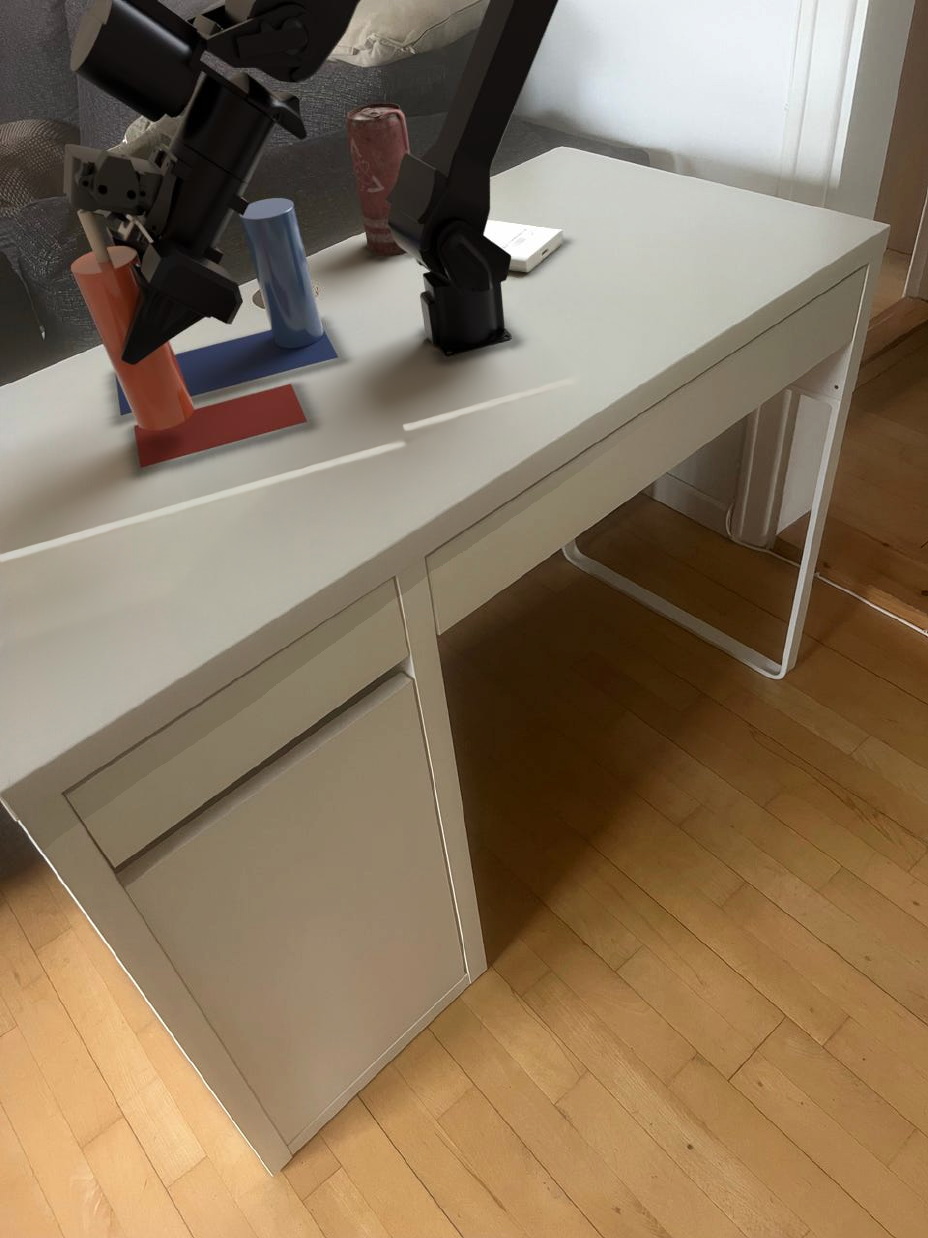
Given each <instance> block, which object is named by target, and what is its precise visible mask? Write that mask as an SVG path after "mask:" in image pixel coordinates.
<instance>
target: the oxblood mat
mask: <svg viewBox="0 0 928 1238" xmlns="http://www.w3.org/2000/svg"><path fill="white" fill-rule="evenodd" d="M307 422H308V421H307V418H306V415H305V413H304V411H303V408H302V406H301V403H300V401H299V399H298V397H297V395H296V392H295V389H294V387H293V385H292V383H287V384H284V385H281V386H276V387H273V388H269V389H266V390H262V391H258V392H254V393H251V394H247V395H244V396H240V397H236V398H231V399H229V400H225V401H224V400H223V401H221V402H217V403H214V404H210V405H206V406H202V407H199V408H194V411H193V413H192V415H191V416H190V417H189V418H188V419H187V420H185V421H184V422H182V423H181V424H179V425H177V426H174V427H171V428H168V429H164V430H145V429H142V428H141V427H139V426H138V424H135V425H134V427H133V428H134V434H135V440H136V448H137V453H138V460H139V467H140V468H145V467H148V466H152V465H156V464H159V463H163V462H167V461H171V460H175V459H177V458H180V457H185V456H189V455H191V454H196V453H199V452H202V451H206V450H209V449H214V448H217V447H221V446H224V445H228V444H231V443H235V442H238V441H239V442H240V441H242V440H246V439H249V438H252V437H257V436H261V435H263V434H267V433H270V432H275V431H278V430H282V429H286V428H288V427H292V426H297V425H300V424H303V423H307Z"/></svg>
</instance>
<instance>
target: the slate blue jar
mask: <svg viewBox="0 0 928 1238" xmlns="http://www.w3.org/2000/svg"><path fill="white" fill-rule="evenodd" d="M238 214H239V213H238ZM238 216H239V218H240V219H239V220H240V222H241V226H242V229H243V233H244V237H245V241H246V244H247V247H248V251H249V256H250V258H251V262H252V266H253V270H254V273H255V277H256V280H257V284H258V288H259V291H260V294H261V295H260V296H261V298H262V302H263V306H264V309H265V313H266V316H267V317H266V318H267V320H268V323H269V324H268V325H269V327H270V330H271V331H272V335H273V338H274V342H275V344H276V345H278V346H280V347H282V348H300V347H305V346H308V345H310V344H313V343H315V342H316V341H318V340H319V339H320V338H321V337H322V335H323V329H324V327H323V323H322V319H321V314H320V311H319V305H318V302H317V297H316V293H315V289H314V284H313V280H312V276H311V271H310V267H309V264H308V258H307V255H306V251H305V250H306V249H305V246H304V241H303V237H302V233H301V229H300V225H299V221H298V216H297V212H296V207H295V203H294V202H293V200H290V199H288V198H284V197H273V198H265V199H260V200H257V201H254V202H251V203H249V205H248V207H247V209H246V211H245V213H244V215H243V216H242V215H241V214H239V215H238Z"/></svg>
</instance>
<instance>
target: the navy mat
mask: <svg viewBox="0 0 928 1238" xmlns="http://www.w3.org/2000/svg"><path fill="white" fill-rule="evenodd" d="M175 356H176V359H177V362H178V364H179V367H180V370H181V372H182V375H183V378H184V380H185V383H186V386H187V389H188V391H189V394H190V397H191V398H192V397H195V396H199V395H203V394H206V393H210V392H213V391H217V390H221V389H225V388H229V387H232V386H236V385H240V384H243V383H248V382H251V381H255V380H258V379H263V378H266V377H270V376H273V375H278V374H281V373H285V372H289V371H293V370H297V369H299V368H300V369H301V368H304V367H307V366H312V365H313V364H318V363H323V362H326V361H329V360H333V359H338V358H339V355H338V353H337V351H336V349H335V348H334V347H333V344H332V343H331V341H330V339H329V337H328V335H327V333H326V331H325V330H324V328H323V335H322V337H321V338H320V339H319V340H318V341H316V342H315V343H313V344H310V345H308V346H305V347H300V348H282V347H280V346H278V345H276V344H275V342H274V338H273V335H272V331H271V329H269V330H265V331H261V332H257V333H254V334H249V335H245V336H242V337H237V338H234V339H230V340H226V341H223V342H218V343H215V344H211V345H207V346H203V347H200V348H195V349H191V350H188V351H184V352H180V353H175ZM115 378H116V380H115V381H116V389H117V395H118V403H119V404H118V405H119V411H120V416H124V415H127V414H133V413H132V411H131V408H130V406H129V404H128V401H127V399H126V397H125V394H124V392H123V390H122V387H121V385H120V383H119V380H118V378H117V376H116V375H115Z"/></svg>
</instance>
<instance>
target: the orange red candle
mask: <svg viewBox="0 0 928 1238" xmlns="http://www.w3.org/2000/svg"><path fill="white" fill-rule="evenodd" d="M77 216H78V217H79V221H80V223H81V225H82V228H83V230H84V233H85V235H86V238H87V240H88V243H89V245H90V247H91V250H92V251H89V252H87V253H85V254H83V255H82V256H80V257H79V258H77V259H75V260H74V261H73V262H72V263H71V266H70V270H71V273H72V275H73V277H74V279H75V282H76V284H77V286H78V288H79V291H80V294H81V296H82V298H83V301H84V303H85V305H86V308H87V310H88V313H89V315H90V317H91V319H92V323H93V324H94V326H95V328H96V331H97V333H98V336H99V338H100V341H101V343H102V345H103V347H104V350H105V352H106V354H107V357H108V359H109V362H110V364H111V366H112V368H113V371H114V373H115V377H116V376H117V378H118V380H119V383H120V385H121V387H122V390H123V392H124V394H125V397H126V399H127V401H128V404H129V406H130V408H131V411H132V413H131V414H132V415H133V417H134V420H135V422H136V425H138V426H139V427H141V428H142V429H145V430H164V429H168V428H171V427H174V426H177V425H179V424H181V423H182V422H184V421H185V420H187V419H188V418H189V417H190V416H191V415H192V413H193V411H194V410H195V404H194V402H193V399H192V396H191V397H190V394H189V391H188V389H187V386H186V383H185V380H184V378H183V375H182V372H181V370H180V367H179V364H178V362H177V359H176V356H175V355H176V353H175V351H174V348H173V346H172V343H171V340H169V341H168V342H166V343H165V344H164V345H162V346H161V347H159V348H158V349H157V350H155V351H154V352H152V353H151V354H150V355H148V356H147V357H145V358H144V359H143V360H141V361H140V362H138V363H137V364H136V365H131V364H128V363H126V362H124V361H122V359H121V352H122V349H123V345H124V341H125V337H126V334H127V331H128V328H129V324H130V321H131V318H132V314H133V311H134V308H135V305H136V301H137V298H138V295H139V290H138V287H137V284H136V281H135V279H134V276H133V273H132V271H131V268H130V263H132V264H134V265H136V266H138V267H140V268H141V267H142V264H141V261H140V259H139V256H138V253H137V251H136V250H135V249H134V248H132V247H128V246H107V244H106V242H105V240H104V239H105V238H104V237H103V234H102V232H101V229H100V227H99V224H98V220H97V218H96V216H95V214H94V212H92V211H86V210H82V209H79V210H78V211H77Z"/></svg>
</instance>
